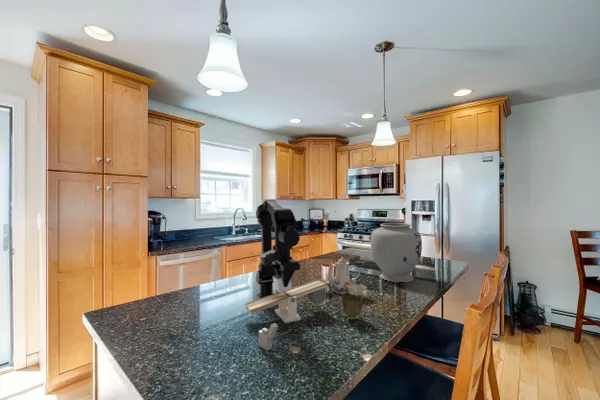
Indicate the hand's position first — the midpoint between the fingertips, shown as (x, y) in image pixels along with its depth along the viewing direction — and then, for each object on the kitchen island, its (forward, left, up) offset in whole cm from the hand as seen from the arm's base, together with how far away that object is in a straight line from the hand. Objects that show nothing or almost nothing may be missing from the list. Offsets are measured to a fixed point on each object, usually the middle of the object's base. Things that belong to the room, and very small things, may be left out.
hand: (283, 285), depth 106 cm
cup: (+13, +22, -12) cm, 28 cm away
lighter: (+20, -12, -12) cm, 26 cm away
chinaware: (-14, +34, -12) cm, 39 cm away
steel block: (0, 0, -2) cm, 2 cm away
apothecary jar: (-22, +75, -12) cm, 79 cm away
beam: (0, +3, -10) cm, 10 cm away
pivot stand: (0, +2, -12) cm, 12 cm away
